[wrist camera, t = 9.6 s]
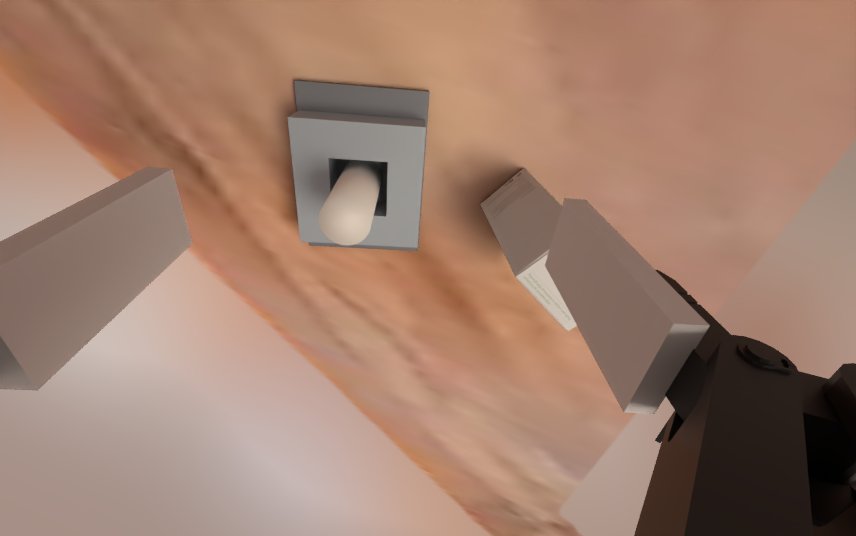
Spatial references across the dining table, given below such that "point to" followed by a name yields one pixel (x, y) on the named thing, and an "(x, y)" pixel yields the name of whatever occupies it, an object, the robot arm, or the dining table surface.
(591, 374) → the dining table surface
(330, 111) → the socket
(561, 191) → the dining table surface
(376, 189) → the dowel
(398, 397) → the dining table surface
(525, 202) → the skincare box
